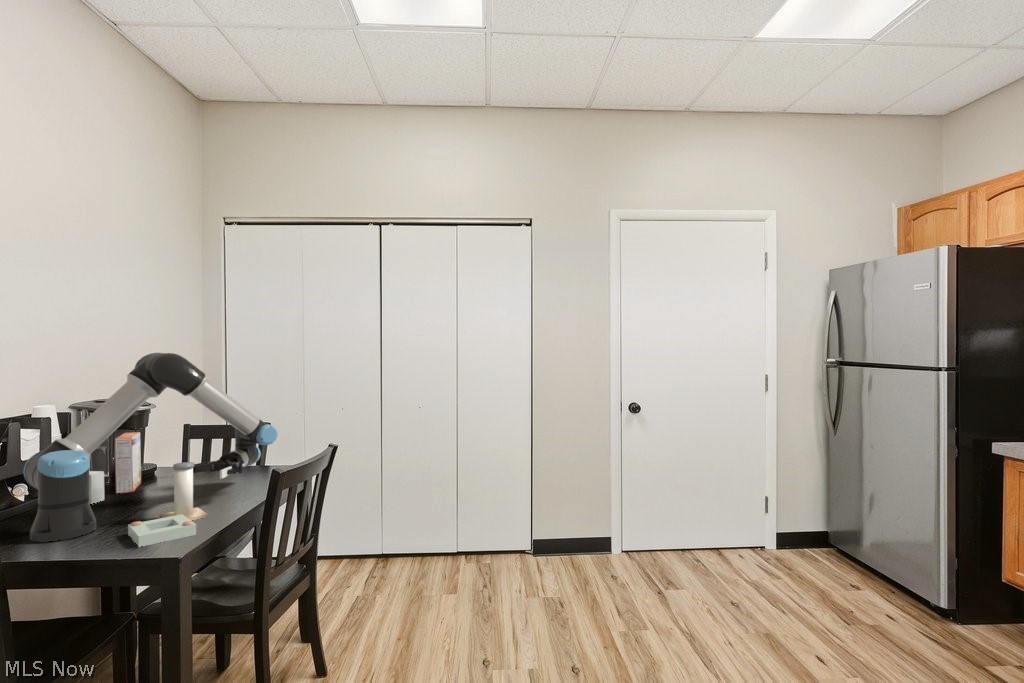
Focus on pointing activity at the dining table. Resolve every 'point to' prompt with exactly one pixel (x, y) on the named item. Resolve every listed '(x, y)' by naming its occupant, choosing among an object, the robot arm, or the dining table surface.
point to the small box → (96, 486)
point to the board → (196, 515)
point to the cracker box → (127, 462)
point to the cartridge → (183, 488)
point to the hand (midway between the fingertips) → (200, 474)
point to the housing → (161, 530)
